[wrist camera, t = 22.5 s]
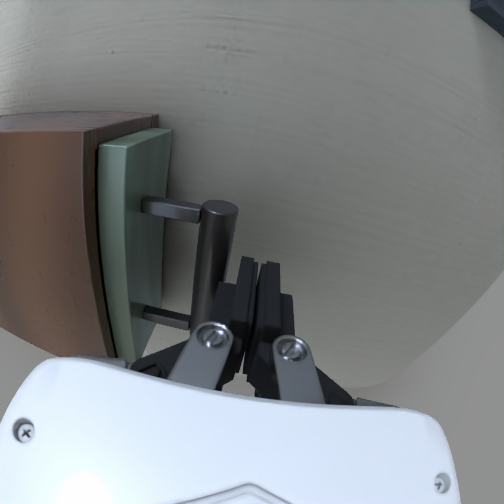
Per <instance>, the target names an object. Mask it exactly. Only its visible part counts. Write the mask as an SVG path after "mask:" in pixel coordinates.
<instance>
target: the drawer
mask: <svg viewBox="0 0 504 504" xmlns="http://www.w3.org/2000/svg"><path fill="white" fill-rule="evenodd" d="M172 133H173V131H172V130H169V129H160V128H148V129H145V130H142V131H138V132H135V133H132V134H129V135H126V136H122V137H119V138H116V139H113V140H111V141H108V142H105V143H102V144H99V146H98V149H96V150H95V214H96V231H97V244H98V255H99V264H100V273H101V281H102V288H103V295H104V301H105V307H106V313H107V318H108V324H109V322H111V328H112V333H113V338H114V343H115V347H116V352H117V356H118V358H119V359H127V362H133V363H134V362H135V361H137V360H139V359H140V358H141V357H142V354H143V352H144V350H145V347H146V345H147V343H148V341H149V338H150V336H151V334H152V332H153V329H154V327H155V325H156V323H159V324H163V325H167V326H171V327H175V328H179V329H183V330H189V328H190V331H189V332H190V335H191V333H192V332H193V330H194V328H195V327H196V326H197V325H198V324H200V323H202V322H206V321H208V319H209V316H210V312H211V308H212V305H213V301H214V297H215V294H216V290H217V286H218V283H219V281H220V282H225V281H226V275H227V269H228V264H229V258H230V253H231V247H232V242H233V237H234V231H235V226H236V221H237V215H238V208H237V206H235V205H234V204H232V203H230V202H227V201H222V200H209V201H206V202H204V203H203V205H199V204H194V203H189V202H183V201H178V200H172V199H166V187H167V177H168V167H169V157H170V149H171V141H172ZM164 217H166V218H171V219H176V220H182V221H187V222H192V223H197V224H199V222H200V228H199V236H198V245H197V254H196V263H195V273H194V283H193V294H192V305H191V315H186V314H182V313H178V312H174V311H169V310H165V309H162V252H163V230H164Z"/></svg>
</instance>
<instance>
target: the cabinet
mask: <svg viewBox="0 0 504 504" xmlns="http://www.w3.org/2000/svg"><path fill="white" fill-rule="evenodd" d="M157 122H158V114H148V113H134V112H112V111H62V112H41V113H27V114H17V115H7V116H0V327H1V328H3V329H5V330H7V331H8V332H10V333H12V334H14V335H16V336H17V337H19V338H21V339H23V340H25V341H27V342H29V343H31V344H33V345H35V346H37V347H39V348H41V349H43V350H45V351H47V352H50V353H52V354H54V355H56V356H58V357H70V356H72V355H74V354H88V355H95V356H102V357H111V358H118V356H117V352H116V347H115V343H114V338H113V333H112V328H111V322H109V324H108V318H107V313H106V307H105V301H104V295H103V288H102V281H101V273H100V264H99V255H98V244H97V231H96V214H95V150H96V149H98V146H99V144H102V143H105V142H108V141H111V140H113V139H116V138H119V137H122V136H126V135H129V134H132V133H135V132H138V131H142V130H145V129H148V128H157Z"/></svg>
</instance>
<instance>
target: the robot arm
mask: <svg viewBox="0 0 504 504" xmlns="http://www.w3.org/2000/svg"><path fill="white" fill-rule="evenodd" d="M257 272H258V262H254V258H250V257H245V256H242V259H241V263H240V268H239V273H238V278H237V283H236V285H235V284H230V283H225V282H220V281H219V283H218V286H217V290H216V294H215V297H214V301H213V305H212V308H211V312H210V316H209V319H208V321H206V322H202V323H200V324H198V325H197V326H196V327H195V328H194V330H193V332H192V333H191V335H190V337H189V339H188V340H186V341H184V342H181V343H179V344H176V345H174V346H171V347H169V348H166V349H164V350H161V351H159V352H156V353H153V354H151V355H148V356H146V357H143V358H140V359H139V360H137V361H135V362H134V363H133V362H127V359H119V358H111V357H102V356H95V355H88V354H74V355H72V356H70V357H59V358H52V359H48V360H45V361H43V362H42V363H40V364H39V365H38V366H36V367H35V368H34V369H33V370H32V372H31V373H30V374H29V375H28V377H27V378H26V379H25V381H24V382H23V383H22V385H21V386H20V388H19V389H18V391H17V393H16V395H15V396H14V398H13V400H12V401H11V403H10V405H9V407H8V409H7V411H6V413H5V415H4V417H3V419H2V421H1V423H0V504H461V501H460V493H459V487H458V481H457V476H456V471H455V466H454V462H453V458H452V455H451V451H450V448H449V445H448V442H447V439H446V437H445V434H444V432H443V430H442V428H441V426H440V425H439V423H438V422H437V421H436V420H435V419H433V418H432V417H430V416H428V415H426V414H424V413H421V412H418V411H415V410H410V409H406V408H400V407H397V406H393V405H388V404H384V403H379V402H374V401H370V400H366V399H362V398H357V399H356V400H355V399H352V397H351V396H350V395H349V394H348V393H347V392H346V391H345V390H344V389H342V388H341V387H340V386H339V385H338V384H336V383H335V382H334V381H333V380H332V379H330V378H329V377H328V376H327V375H326V374H324V373H323V372H322V371H321V370H320V369H319V368H317V367H316V366H315V364H314V360H313V357H312V353H311V350H310V347H309V345H308V344H307V343H306V342H305V341H304V340H302V339H301V338H299V337H296V336H295V330H294V314H293V299H292V295H288V294H282V293H280V263H275V262H270V261H267V263H266V264H263V263H262V265H261V269H260V273H259V277H258V281H257ZM256 283H257V285H256ZM244 352H245V356H244ZM243 356H244V365H243V374H247V382H249V383H250V384H251V385H252V386H253V387H254V388H255V397H250V396H244V395H238V394H232V393H226V392H221V391H222V387H223V385H224V384H226V383H228V382H230V381H231V380H233V378H234V375H235V373H239V370H240V367H241V363H242V359H243Z"/></svg>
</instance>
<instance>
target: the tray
mask: <svg viewBox="0 0 504 504" xmlns="http://www.w3.org/2000/svg"><path fill="white" fill-rule="evenodd" d="M470 10H471V11H472V12H473V13H475V14H476V15H477V16H479V17H480V18H481V19H483V20H484V21H485V22H487V23H488V24H489V25H490V26H492V27H493V28H494V29H495V30H496V31H498V32H499V33H500V34H501V35H502V36H503V37H504V0H471V6H470Z"/></svg>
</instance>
